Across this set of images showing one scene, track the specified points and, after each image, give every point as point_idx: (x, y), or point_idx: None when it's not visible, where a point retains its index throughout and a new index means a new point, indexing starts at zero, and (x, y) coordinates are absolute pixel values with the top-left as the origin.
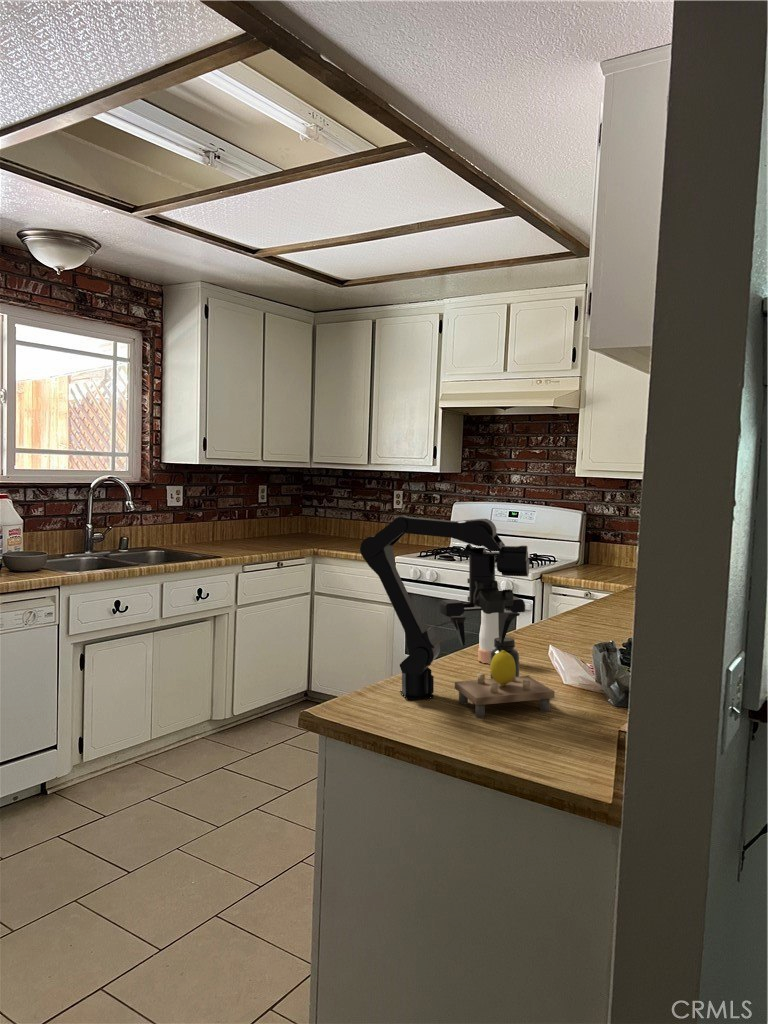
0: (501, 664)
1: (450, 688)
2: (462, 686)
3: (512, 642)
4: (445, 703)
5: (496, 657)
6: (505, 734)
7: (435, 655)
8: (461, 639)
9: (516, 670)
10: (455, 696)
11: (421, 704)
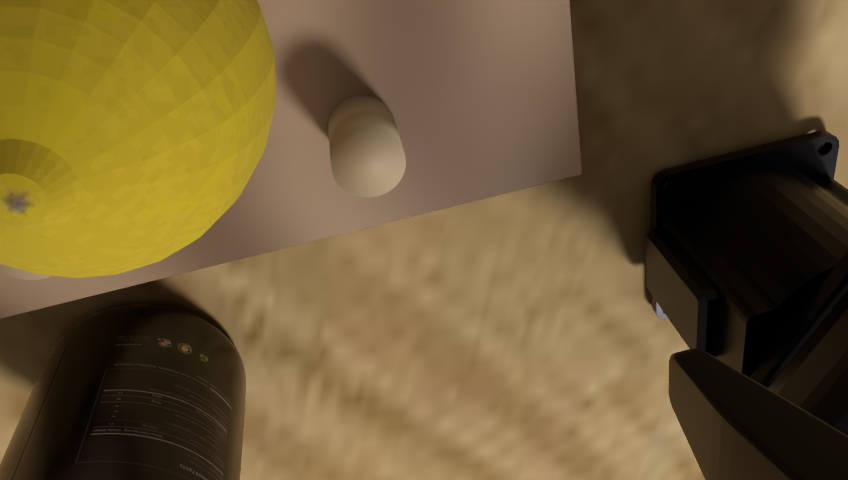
0: None
1: (495, 359)
2: (556, 27)
3: None
4: (607, 70)
5: (169, 64)
6: None
7: (837, 363)
8: (792, 403)
9: (20, 433)
10: (501, 218)
11: (770, 53)
